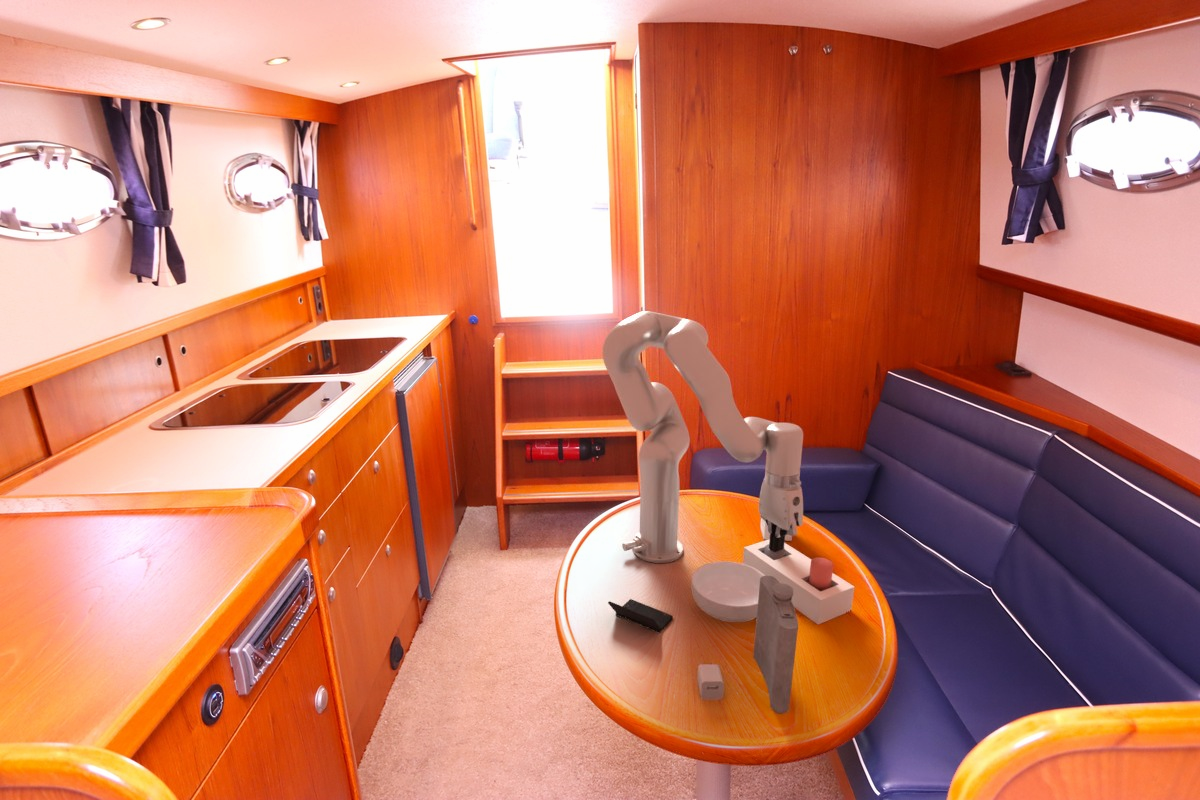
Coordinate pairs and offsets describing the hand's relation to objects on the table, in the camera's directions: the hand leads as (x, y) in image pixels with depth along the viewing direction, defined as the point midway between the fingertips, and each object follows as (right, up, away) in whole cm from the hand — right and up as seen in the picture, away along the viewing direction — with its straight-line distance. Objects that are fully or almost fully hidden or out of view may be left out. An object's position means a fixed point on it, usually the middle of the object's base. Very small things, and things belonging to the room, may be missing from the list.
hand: (776, 548), depth 154 cm
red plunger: (+6, -5, -11) cm, 14 cm away
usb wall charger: (-21, -18, -33) cm, 43 cm away
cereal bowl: (-13, -11, -11) cm, 20 cm away
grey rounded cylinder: (0, -5, +2) cm, 6 cm away
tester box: (+3, -8, -4) cm, 10 cm away
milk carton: (+5, -1, +20) cm, 21 cm away
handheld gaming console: (-33, -12, -15) cm, 38 cm away
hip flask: (-9, -18, -32) cm, 37 cm away
